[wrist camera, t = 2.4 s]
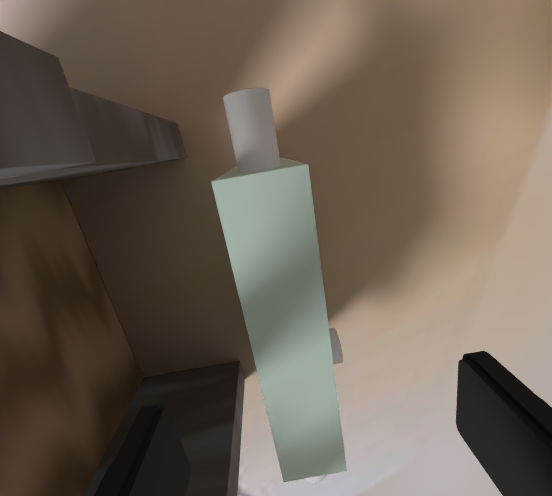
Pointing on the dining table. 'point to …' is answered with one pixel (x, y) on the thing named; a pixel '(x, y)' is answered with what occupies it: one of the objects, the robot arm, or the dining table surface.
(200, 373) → the cabinet
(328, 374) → the door
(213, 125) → the dining table surface
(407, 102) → the dining table surface
